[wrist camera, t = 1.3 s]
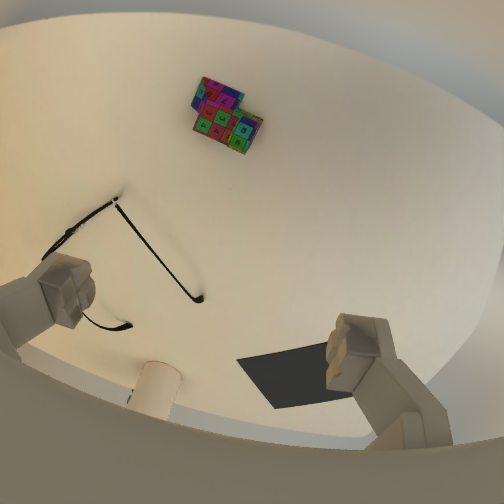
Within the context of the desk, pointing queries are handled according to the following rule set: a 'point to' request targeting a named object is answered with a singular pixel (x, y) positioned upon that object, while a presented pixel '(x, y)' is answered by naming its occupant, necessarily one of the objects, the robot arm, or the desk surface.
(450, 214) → the desk surface
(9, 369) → the robot arm
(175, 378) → the candle
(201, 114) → the block
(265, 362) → the mat
